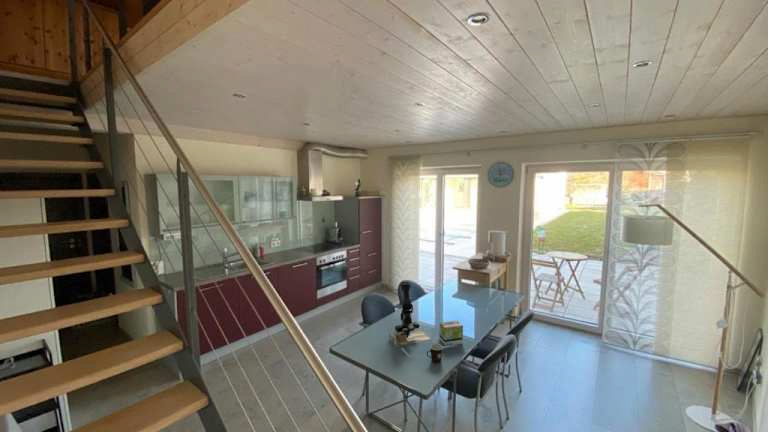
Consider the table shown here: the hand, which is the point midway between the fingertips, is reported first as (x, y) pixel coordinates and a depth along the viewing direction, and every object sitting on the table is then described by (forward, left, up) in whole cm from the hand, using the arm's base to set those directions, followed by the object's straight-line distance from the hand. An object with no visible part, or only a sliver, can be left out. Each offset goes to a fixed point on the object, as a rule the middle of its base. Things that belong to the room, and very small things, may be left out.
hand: (407, 337), depth 250 cm
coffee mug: (+32, +4, -3) cm, 33 cm away
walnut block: (0, -5, -1) cm, 5 cm away
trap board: (0, +2, -3) cm, 4 cm away
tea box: (+15, +29, -3) cm, 33 cm away
